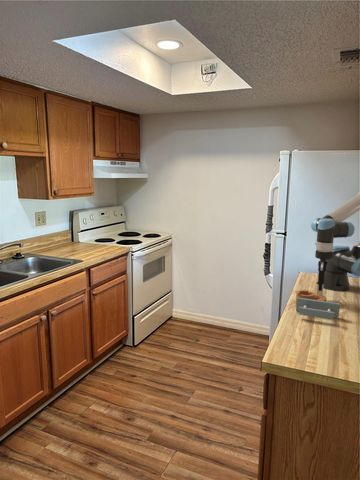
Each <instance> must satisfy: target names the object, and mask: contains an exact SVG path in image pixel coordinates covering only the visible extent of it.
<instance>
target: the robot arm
mask: <svg viewBox="0 0 360 480" xmlns="http://www.w3.org/2000/svg"><path fill="white" fill-rule="evenodd" d="M359 212H360V190H359V191H358V192H357V194H356V195H355V196H353V197H352V198H351V199H349V200H347V201H346V202H344V203H343V204H341V205H340V206H338V207H337V208H335V209H334V210H333V211H331V212H329V213H328V214H326V215H325V216H323V217H315V218H314V219H313V220H312V221H311V223H310V227H311V228H310V229H311V230H312V231H313V232H316V242H315V243H314V244H315V249H316V250H315V255H314V256H315V258H316V259H318V263H317V266H318V269H317V270H318V276H317V277H318V278H317V282H316V283H315V284H317V288H316V289H317V290H316V295H322V296H324V289H327V290H330V291H341V292H342V291H348V290H350V280H349V276H348V274H350V275H353V276H356V277H360V241H359V243H358V244H356V245H353V246H352V248H351V249H350V246H348V245H334V239H340V238H349V237H352V236H353V235H354V234H355V231H356V230H355V225H354V223H352V222H350V221H345V220H347V219H348V218H350V217H352V216H353V215H355V214H356V213H359Z"/></svg>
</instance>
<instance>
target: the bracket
mask: <svg viewBox="0 0 360 480" xmlns="http://www.w3.org/2000/svg"><path fill="white" fill-rule="evenodd" d="M295 293H296V294H295V295H296V297H295V304H296V303H297V297H298V298H305V299H312V300H319V301H326V302H328V298H327V297H326V296H324V295H323V296H322V295H317V294H315V292H314V291H309V290H307V289H301V290H297V291H296V292H295Z"/></svg>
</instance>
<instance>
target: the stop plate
mask: <svg viewBox="0 0 360 480" xmlns="http://www.w3.org/2000/svg"><path fill="white" fill-rule="evenodd" d="M340 305H341V303H340V302H339V303H337V302H333V301H332V302H331V301H327V302H326V301H319V300H312V299H305V298H298V297H297V303H296V302H295V311H296V312H298V315H301V316H306V317H311V318H312V317H313V318H319V319H326V320H332V321H333V320H334V318H338V319H339V316H340V308H341V306H340Z"/></svg>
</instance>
